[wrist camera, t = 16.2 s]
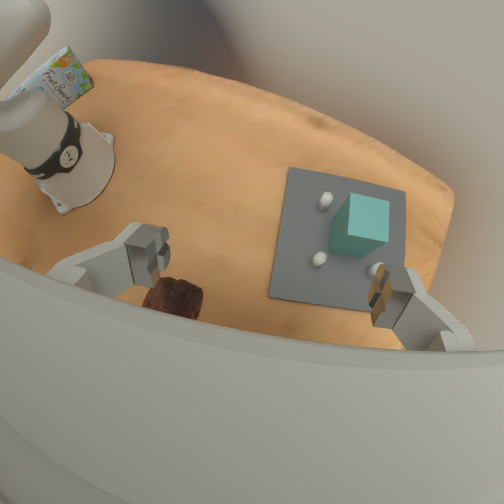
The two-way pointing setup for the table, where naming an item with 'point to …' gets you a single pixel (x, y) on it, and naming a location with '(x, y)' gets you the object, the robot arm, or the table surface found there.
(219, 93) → the table surface
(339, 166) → the table surface
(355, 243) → the teal post
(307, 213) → the peg board
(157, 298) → the wooden tablet
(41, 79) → the snack box
